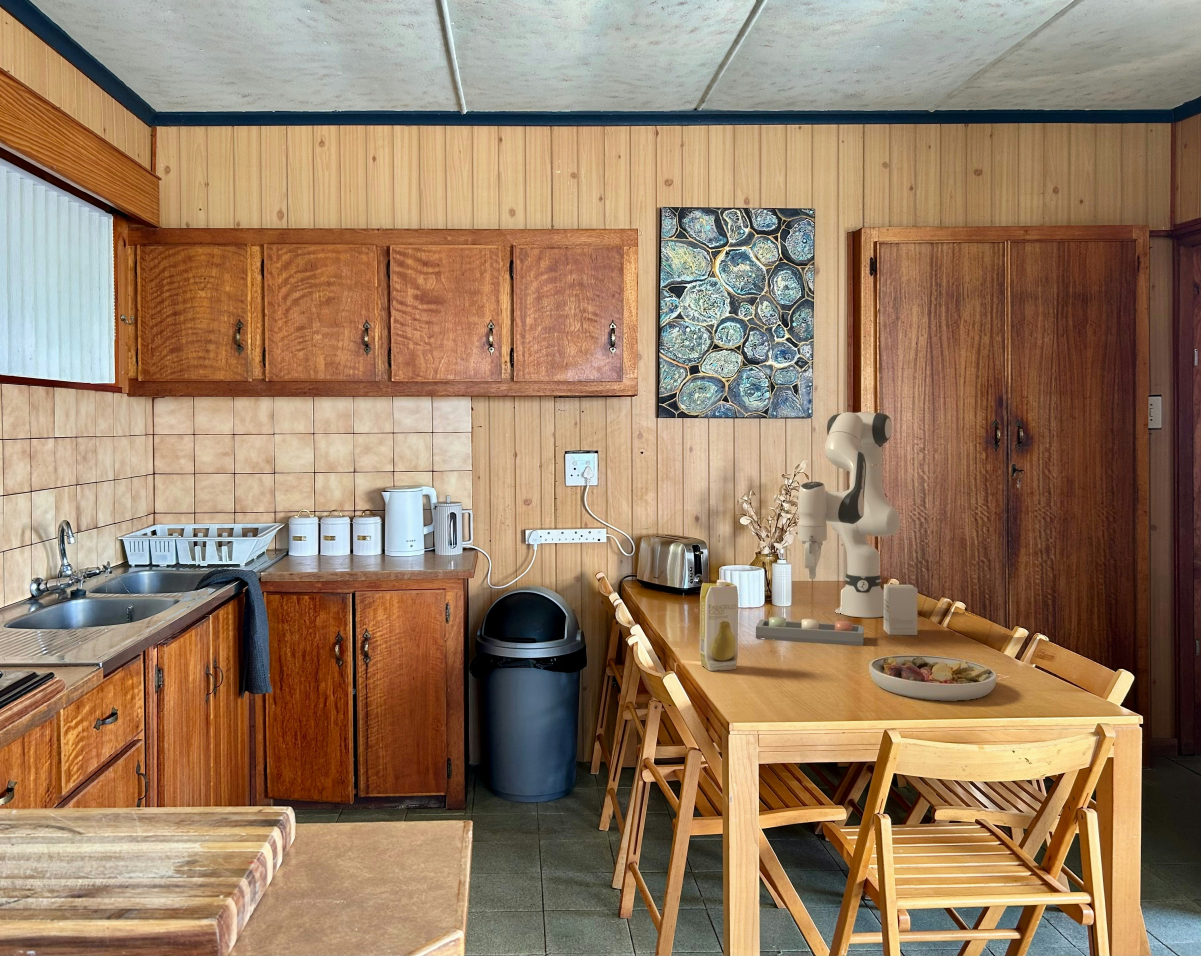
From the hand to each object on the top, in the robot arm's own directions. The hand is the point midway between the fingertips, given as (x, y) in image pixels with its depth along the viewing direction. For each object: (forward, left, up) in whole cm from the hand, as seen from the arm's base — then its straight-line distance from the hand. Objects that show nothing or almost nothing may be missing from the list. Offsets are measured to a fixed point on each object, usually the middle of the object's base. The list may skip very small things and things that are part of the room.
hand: (812, 578), depth 293 cm
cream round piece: (+3, 0, -17) cm, 17 cm away
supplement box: (-15, +27, -19) cm, 36 cm away
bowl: (+52, +33, -19) cm, 64 cm away
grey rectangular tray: (+3, 0, -18) cm, 19 cm away
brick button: (+3, +10, -17) cm, 20 cm away
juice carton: (+49, -21, -19) cm, 57 cm away
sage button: (+3, -10, -17) cm, 20 cm away
